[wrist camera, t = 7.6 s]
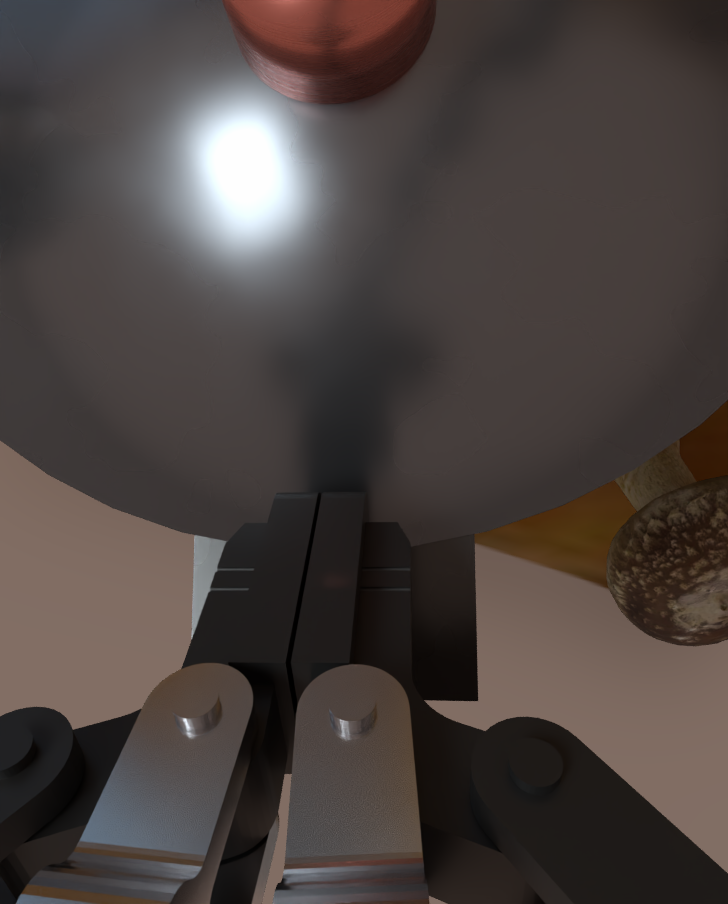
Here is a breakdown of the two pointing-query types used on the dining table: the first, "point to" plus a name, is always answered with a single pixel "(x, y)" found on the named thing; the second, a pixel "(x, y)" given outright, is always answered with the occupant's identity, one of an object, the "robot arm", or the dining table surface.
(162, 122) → the cooker lid
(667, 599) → the mushroom
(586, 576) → the dining table surface
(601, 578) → the dining table surface
